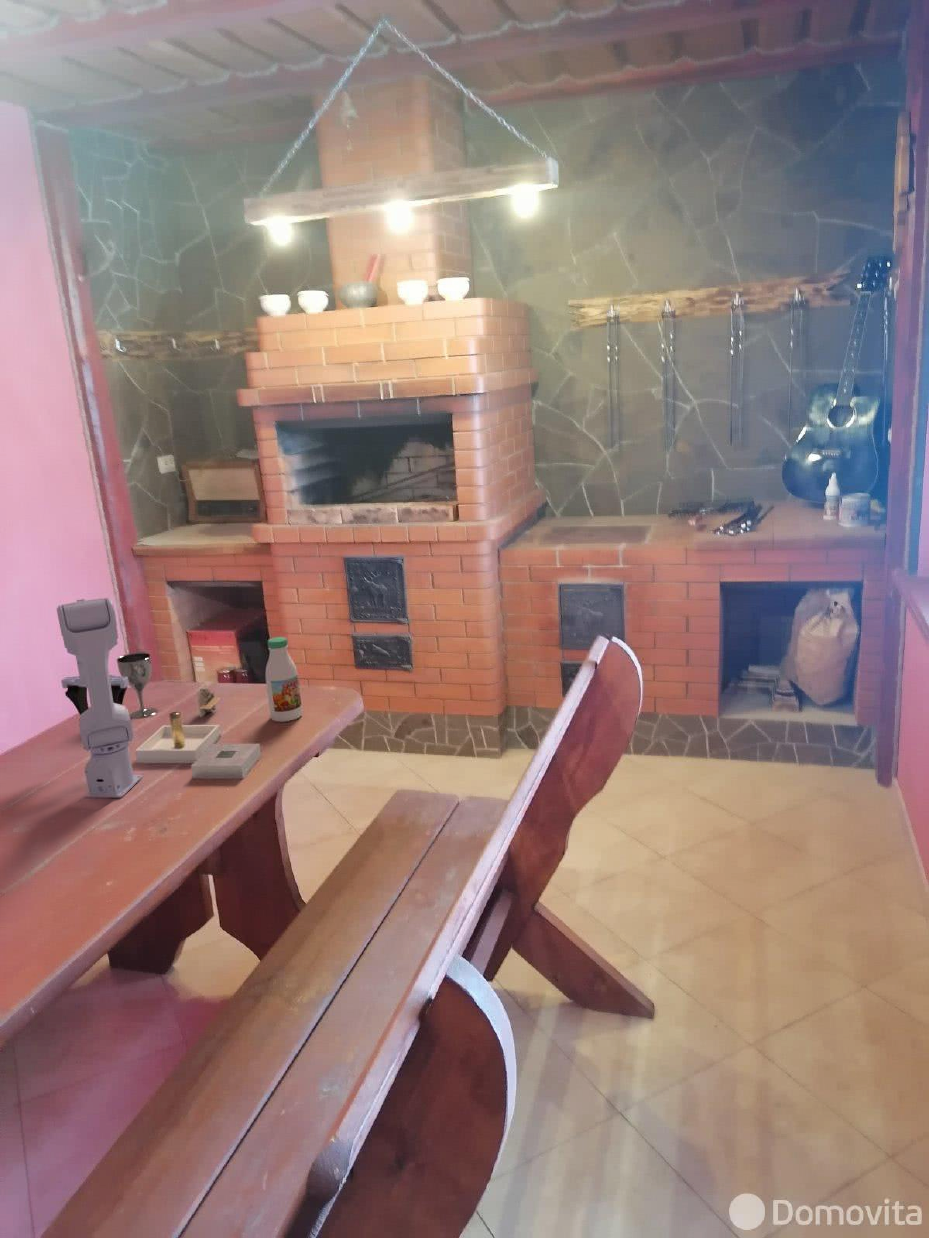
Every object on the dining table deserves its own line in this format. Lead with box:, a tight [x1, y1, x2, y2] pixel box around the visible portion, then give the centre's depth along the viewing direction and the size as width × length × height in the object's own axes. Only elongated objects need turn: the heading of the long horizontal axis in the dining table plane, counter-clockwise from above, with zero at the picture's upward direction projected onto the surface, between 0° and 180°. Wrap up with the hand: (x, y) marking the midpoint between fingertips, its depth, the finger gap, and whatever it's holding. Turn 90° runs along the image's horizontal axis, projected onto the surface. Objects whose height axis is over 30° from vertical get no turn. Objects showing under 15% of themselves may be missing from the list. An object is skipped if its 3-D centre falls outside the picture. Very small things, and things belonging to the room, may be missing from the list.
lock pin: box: [168, 711, 185, 749], centre depth 204 cm, size 2×2×8 cm
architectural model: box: [196, 683, 221, 719], centre depth 225 cm, size 3×7×7 cm, turn 176°
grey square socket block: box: [191, 743, 262, 780], centre depth 194 cm, size 11×11×3 cm
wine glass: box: [116, 651, 159, 720], centre depth 227 cm, size 8×8×15 cm
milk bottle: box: [265, 636, 303, 723], centre depth 218 cm, size 8×8×20 cm
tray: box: [134, 724, 222, 764], centre depth 205 cm, size 14×14×3 cm
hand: (101, 717), depth 199 cm, fingers open, 7 cm apart
